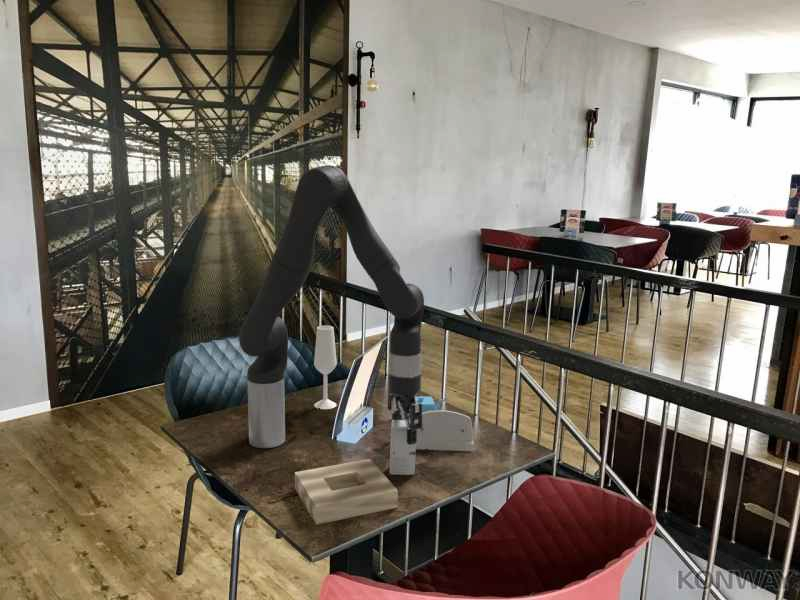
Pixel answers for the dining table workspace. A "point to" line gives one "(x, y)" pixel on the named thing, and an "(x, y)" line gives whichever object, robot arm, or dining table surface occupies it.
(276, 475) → the dining table surface
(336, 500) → the well block
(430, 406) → the light blue box
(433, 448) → the grey arched bracket
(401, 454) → the skincare box
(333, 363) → the champagne flute
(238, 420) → the dining table surface
